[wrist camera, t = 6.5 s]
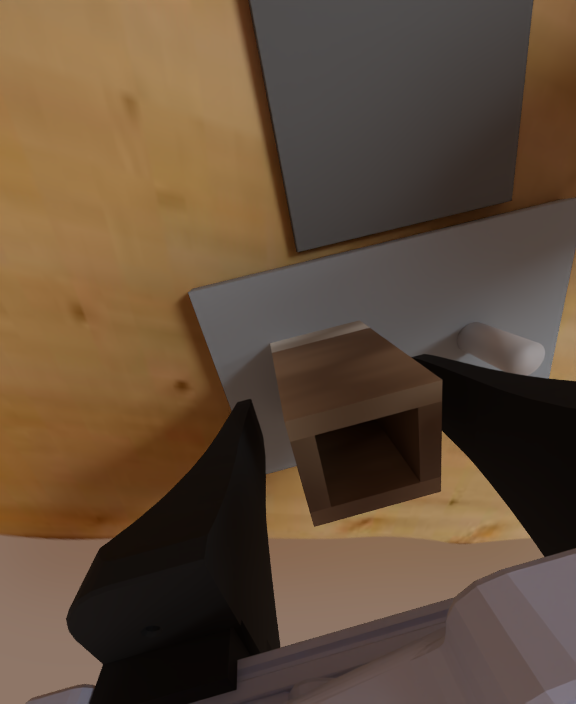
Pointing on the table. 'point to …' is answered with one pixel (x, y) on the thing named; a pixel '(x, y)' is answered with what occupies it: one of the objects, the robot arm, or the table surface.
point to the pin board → (401, 304)
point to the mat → (391, 108)
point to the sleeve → (358, 420)
